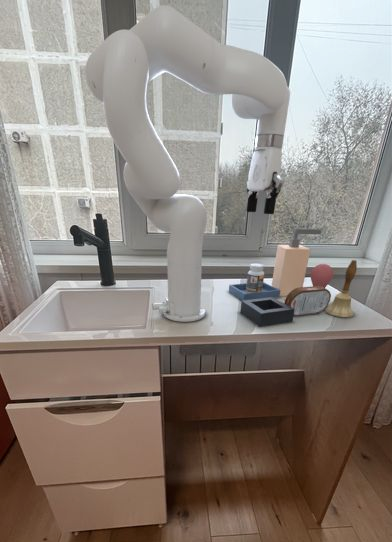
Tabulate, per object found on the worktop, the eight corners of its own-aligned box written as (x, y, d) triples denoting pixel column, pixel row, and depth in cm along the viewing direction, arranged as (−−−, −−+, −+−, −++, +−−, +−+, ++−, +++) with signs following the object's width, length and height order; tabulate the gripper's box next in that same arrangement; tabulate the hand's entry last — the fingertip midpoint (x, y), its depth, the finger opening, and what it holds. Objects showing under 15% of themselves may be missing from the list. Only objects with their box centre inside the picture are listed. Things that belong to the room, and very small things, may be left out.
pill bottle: (260, 296, 100) (264, 267, 96) (244, 294, 102) (247, 265, 97) (262, 291, 105) (266, 263, 100) (246, 289, 107) (249, 262, 102)
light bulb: (309, 294, 105) (316, 260, 100) (329, 298, 102) (338, 263, 96) (303, 299, 100) (310, 264, 94) (324, 303, 97) (333, 267, 91)
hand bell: (330, 306, 95) (343, 256, 87) (357, 312, 90) (373, 260, 82) (320, 312, 89) (333, 260, 82) (348, 320, 84) (365, 265, 77)
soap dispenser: (278, 295, 103) (289, 230, 92) (270, 288, 110) (280, 227, 100) (312, 295, 104) (327, 230, 93) (302, 288, 111) (315, 227, 101)
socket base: (259, 327, 79) (261, 313, 77) (240, 312, 88) (241, 300, 86) (292, 322, 82) (294, 309, 80) (270, 308, 91) (272, 296, 89)
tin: (321, 309, 91) (328, 284, 87) (328, 313, 89) (335, 286, 85) (281, 314, 87) (286, 287, 83) (287, 318, 84) (292, 291, 80)
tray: (243, 301, 97) (244, 294, 96) (228, 291, 106) (229, 284, 105) (279, 297, 102) (280, 290, 100) (261, 288, 111) (262, 281, 110)
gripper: (241, 147, 85) (235, 210, 93) (276, 138, 71) (265, 214, 79) (262, 150, 88) (254, 211, 96) (300, 142, 74) (287, 215, 82)
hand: (259, 212), depth 88 cm, fingers open, 9 cm apart
